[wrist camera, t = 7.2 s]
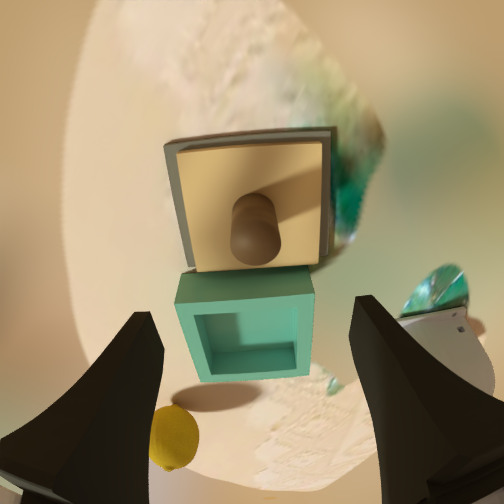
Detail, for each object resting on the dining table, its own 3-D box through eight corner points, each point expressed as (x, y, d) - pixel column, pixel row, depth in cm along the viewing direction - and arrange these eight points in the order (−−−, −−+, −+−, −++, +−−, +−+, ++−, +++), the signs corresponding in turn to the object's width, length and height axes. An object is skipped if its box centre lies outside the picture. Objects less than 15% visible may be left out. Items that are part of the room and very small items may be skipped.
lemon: (177, 386, 29) (168, 459, 22) (211, 410, 32) (208, 476, 25) (140, 397, 30) (127, 463, 24) (174, 419, 33) (167, 480, 26)
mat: (328, 129, 16) (330, 131, 16) (326, 252, 21) (327, 255, 20) (164, 144, 17) (163, 145, 16) (189, 263, 21) (188, 267, 21)
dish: (306, 263, 21) (314, 293, 19) (304, 346, 26) (309, 375, 23) (181, 274, 21) (174, 303, 19) (203, 353, 26) (200, 382, 24)
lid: (319, 141, 16) (339, 163, 13) (316, 258, 21) (329, 299, 17) (178, 151, 17) (161, 175, 13) (198, 266, 21) (190, 309, 17)
